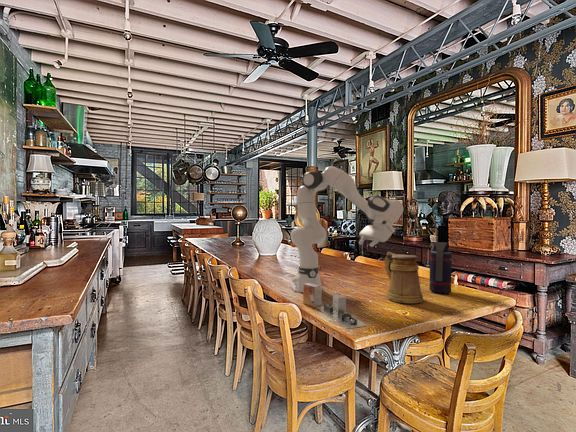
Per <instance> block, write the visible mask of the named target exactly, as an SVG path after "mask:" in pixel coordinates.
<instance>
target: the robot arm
mask: <svg viewBox="0 0 576 432" xmlns="http://www.w3.org/2000/svg"><path fill="white" fill-rule="evenodd" d="M301 180H302V181H301V182H302V185H301V186H299V187H298V188H297V193H296V204H297V205H296V207H297V216H298V219H300V220H301V221H302V222H303V223H304V225H303V226H298V227H295V228H293V229H292V230H291V232H290V240H291V242H292V243H293V244H294V245H295V247H296V248H297V250H298V254H299V255H298V257H299V266H298V270H297V273H296V275H295V276H294V277H293V278H292V283H290V285H289V286H290V288H291V289H292V290H293V292H296V293H297V292H299V293H304V284H306V283H314V284H318V285H322V282H321V276H320V274H319V271H320V269H319V259H318V258H319V256H318V255H319V254H318V253H317V252H316V251H315V250H314V248H313V245H314V244H315V245H316V244H320V243H322V242H325V240H326V239H327V236H328V235H327V230H326V228H325V227H324V226H322V224H321V222H320V221H319V218H318V215H317V207H316V194H319V193H322V192H324V191H326V190H327V189H329V187H331V188H333V189H334V190H336V191H337V192H339V193H340V194H341V195H342V196H344V198H346V199H347V200H348V201H350V202H351V203H352V205H354V206H355V207H357V208H358V209H359V210H360V211H361V212H363V214H364V215H365V216H366V218H367V220H368V221H369V222H370V223H372V224H369V225H365V227H364V228H363V229H362V230H361V231H359V235H358V236H359V237H360V240H359V241H358V244H359V246H360V245H361V246H363V244H364V242H365V240H367V241H370V243H369V244H368V246H370V247H371V248H373V247H374V246H375V245H377V244H378V243H379V242H380V243H385V242H387V241H388V240H389V239H390V238H391V236H392V234H394V233H395V232H396V229H395V228H394V227H393V226H394V224H395V223H396V222H398V220H399V219H400V218H401V216H402V214H403V213H404V206H403V204H402V203H401V201H399V200H398V199H390V198H389V199H388V198H386V197H383V196H381V195H372V196H371V197H369V198H368V199H365V198H364V197H363V196H362V195H361V194H360V192H359V191H358V188H357V184H356V182H355V180H354V179H353V177H352V176H351V175H350V174H348V173H347V172H345V171H343V170H342V169H340V168H338V167H336V166H334V165H330V166H327V167H325V169H324V170H323V171H322V172H321V171H320V170H319V171H317V170H312V171H307V172H305V173H304V174H303V176H302V179H301ZM322 290H323V286H322Z"/></svg>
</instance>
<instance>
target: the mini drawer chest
mask: <svg viewBox="0 0 576 432" xmlns="http://www.w3.org/2000/svg"><path fill="white" fill-rule="evenodd" d="M332 305H333V315H335V316H336V317H338V318H339V314H341V313H344V312H347V297H346V296H344V295H342V294H332Z"/></svg>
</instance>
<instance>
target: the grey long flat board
mask: <svg viewBox="0 0 576 432" xmlns="http://www.w3.org/2000/svg"><path fill="white" fill-rule="evenodd" d="M315 309H317V310H318V311H320V312H321V313H323V314H324V315H325V316H327V317H329V319H331V320H333V321H334V322H336V323H337V324H338V325H340V326H342V327H343V328H345V329H346V330H349V329H357V328H362V327H368V325H367V324H366V323H364V322H363V321H361V320H359V319H358V318H356V317H354V316H352V313H351V312H347V311H346V312H344V313H341V314H339V318H338V317H336V316H335V315H333V304H331V303H328V304H323V306H322V305H320V306H316V307H315Z"/></svg>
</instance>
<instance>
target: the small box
mask: <svg viewBox="0 0 576 432" xmlns="http://www.w3.org/2000/svg"><path fill="white" fill-rule="evenodd" d="M322 287H323V285H322V284H321V285H318V284H314V283H306V284H304V292H302V293H303V297H302V298H303V300H302V301H303V302H302V304H304V305H307V306H309V307H313V308H316V307H320V306H322V296H323V295H322V291H323V289H322Z"/></svg>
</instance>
